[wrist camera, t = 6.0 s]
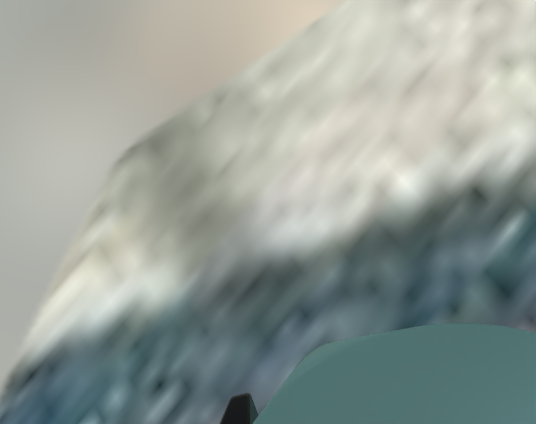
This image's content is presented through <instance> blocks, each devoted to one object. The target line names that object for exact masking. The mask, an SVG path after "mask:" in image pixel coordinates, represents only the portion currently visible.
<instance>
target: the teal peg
mask: <svg viewBox="0 0 536 424" xmlns="http://www.w3.org/2000/svg"><path fill="white" fill-rule="evenodd" d="M253 424H536V333H534V332H529V331H525V330H520V329H516V328H511V327H507V326H496V325H486V324H475V323H451V324H430V325H424V326H418V327H412V328H407V329H401V330H395V331H389V332H384V333H378V334H373V335H367V336H362V337H356V338H351V339H345V340H340V341H334V342H330V343H327V344H324V345H322V346H319V347H317V348H316V349H314V350H313V351H311V352H310V353H308V354H307V355H306V356H305V357H304V358H303V359H302V360H301V361H300V362H299V364H298V365H297V366H296V367H295V369H294V370H293V371H292V373H291V374H290V375H289V376H288V378H287V379H286V380H285V382H284V383H283V384H282V386H281V387H280V388H279V390H278V391H277V392H276V393H275V395H274V396H273V397H272V399H271V400H270V401H269V403H268V404H267V405H266V407H265V408H264V409H263V410H262V412H261V413H260V414H259V416H258V417H257V418H256V420H255V421H254V422H253Z"/></svg>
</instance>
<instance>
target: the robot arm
mask: <svg viewBox="0 0 536 424" xmlns="http://www.w3.org/2000/svg"><path fill="white" fill-rule="evenodd" d="M257 417H258V413H257V411H256V408H255V405H254V402H253V400H252V397H251V395H250V394H249V393H244V394H240V395H236V396H233V397H232V398H231V399H230V401H229V403H228V405H227V408H226V410H225V413H224V415H223V417H222V420H221V422H220V424H253V422H254V421H255V420H256V418H257Z"/></svg>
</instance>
